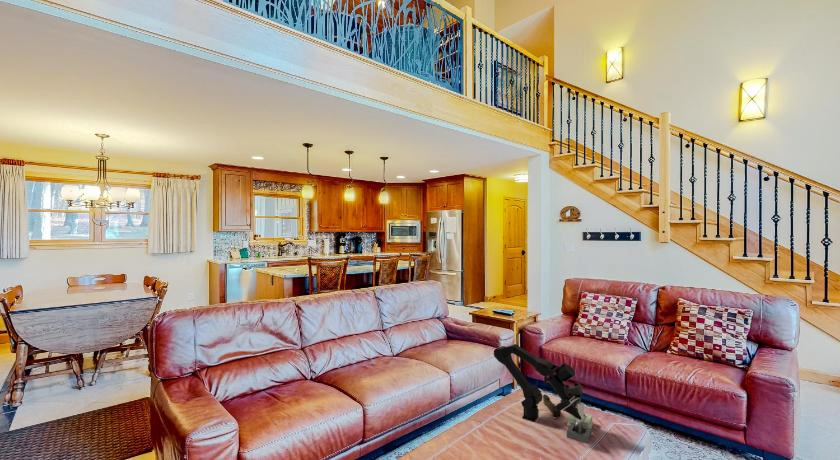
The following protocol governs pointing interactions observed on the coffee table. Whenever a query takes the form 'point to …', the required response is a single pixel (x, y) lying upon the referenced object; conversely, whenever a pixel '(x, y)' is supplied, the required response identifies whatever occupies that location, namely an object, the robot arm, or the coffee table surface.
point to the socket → (579, 434)
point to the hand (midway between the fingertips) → (582, 417)
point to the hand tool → (551, 406)
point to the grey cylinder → (580, 423)
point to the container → (587, 420)
